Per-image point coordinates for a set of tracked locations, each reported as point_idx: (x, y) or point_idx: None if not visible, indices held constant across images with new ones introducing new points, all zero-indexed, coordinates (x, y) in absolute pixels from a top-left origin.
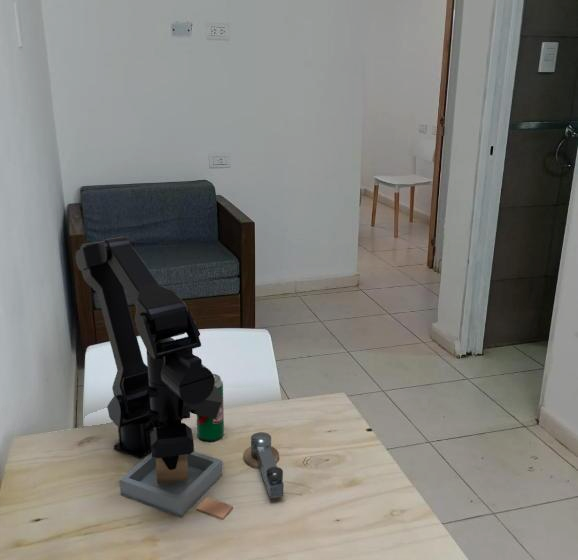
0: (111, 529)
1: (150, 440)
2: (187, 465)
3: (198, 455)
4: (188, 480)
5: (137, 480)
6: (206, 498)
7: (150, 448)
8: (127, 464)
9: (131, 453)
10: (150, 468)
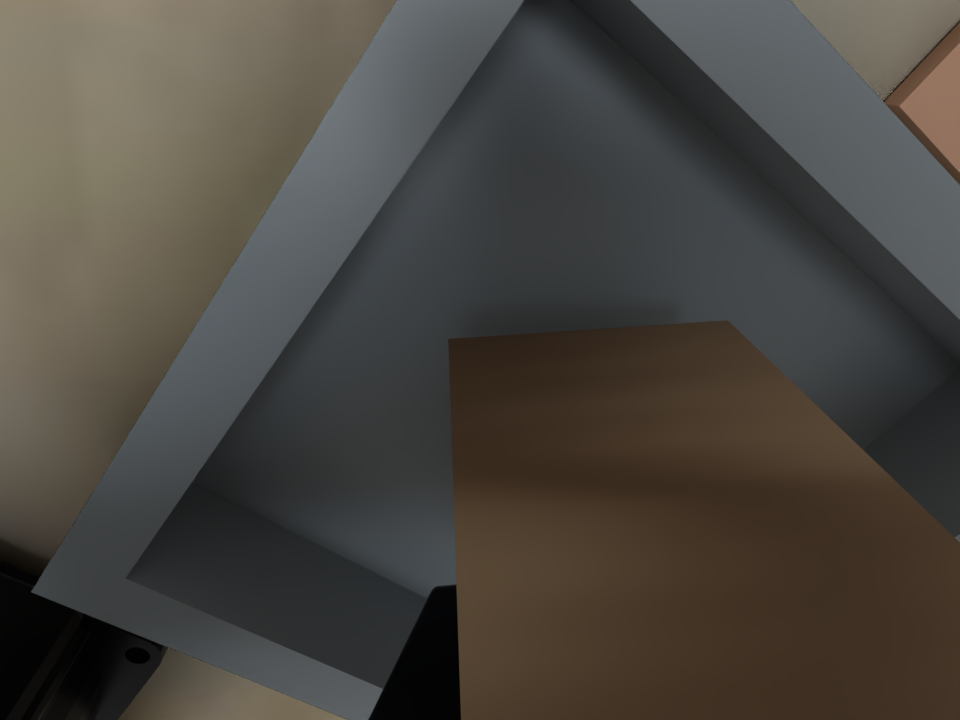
0: None
1: (4, 689)
2: (837, 425)
3: (349, 198)
4: (588, 284)
5: None
6: (924, 106)
7: (66, 618)
8: (246, 692)
9: (126, 703)
10: (388, 604)
